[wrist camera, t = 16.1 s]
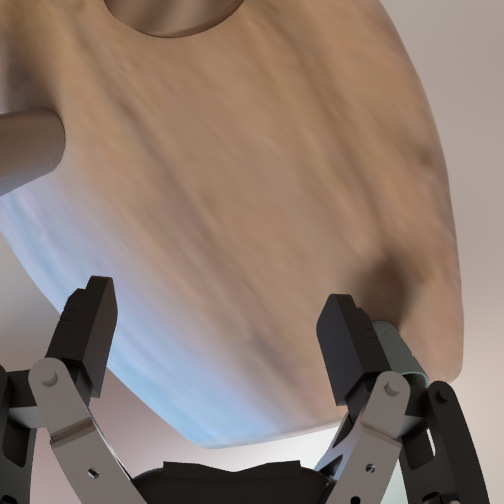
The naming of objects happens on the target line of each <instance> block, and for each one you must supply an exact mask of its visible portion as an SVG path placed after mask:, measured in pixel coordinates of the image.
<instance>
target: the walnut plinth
mask: <svg viewBox="0 0 504 504" xmlns="http://www.w3.org/2000/svg"><path fill="white" fill-rule="evenodd" d="M243 1H244V0H104V2H105V5H106V6H107V8H108V10H109V11H110V12H111V14H112V15H113V16H114V17H115V18H117V19H118V20H119V21H121V22H122V23H124V24H126V25H128V26H130V27H131V28H133V29H135V30H137V31H139V32H141V33H144V34H146V35H149V36H153V37H160V38H180V37H186V36H191V35H194V34H198V33H201V32H203V31H206V30H208V29H210V28H212V27H214V26H216V25H218V24H219V23H221V22H223V21H224V20H225V19H227V18H228V17H229V16H231V15H232V14H233V13H234V12H235V11H236V10H237V9H238V8H239V6H240V5H241V4H242V3H243Z"/></svg>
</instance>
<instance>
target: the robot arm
mask: <svg viewBox="0 0 504 504" xmlns="http://www.w3.org/2000/svg"><path fill="white" fill-rule="evenodd" d="M64 147H65V134H64V129H63V126H62V123H61V121H60V119H59V118H58V116H57V115H56V114H55V113H54V112H53V111H51V110H49V109H46V108H37V109H29V110H22V111H16V112H10V113H5V114H0V197H1V196H3V195H5V194H6V193H8V192H10V191H12V190H14V189H16V188H18V187H20V186H22V185H24V184H26V183H28V182H31V181H33V180H35V179H37V178H39V177H41V176H43V175H45V174H47V173H49V172H51V171H52V170H54V169H55V168H56V167H57V165H58V164H59V162H60V160H61V158H62V156H63V152H64ZM117 315H118V309H117V302H116V297H115V291H114V284H113V279H112V278H111V277H102V276H91V277H90V279H89V282H88V284H87V286H86V289H80V288H78V289H77V290H76V291H75V292H74V293H73V294H72V295H71V296H70V297H69V298H68V300H67V302H66V305H65V307H64V311H63V312H62V314H61V317H60V321H59V322H58V324H57V327H56V329H55V332H54V335H53V337H52V340H51V343H50V345H49V348H48V351H47V354H46V356H45V358H43V359H41V360H39V361H37V362H36V363H35V364H34V365H33V366H32V367H31V369H29V370H24V371H13V372H6V371H5V369H4V368H3V367H2V366H1V365H0V504H29V502H30V484H31V472H32V471H31V470H32V462H33V454H34V446H35V439H36V432H37V428H40V427H47V430H48V432H49V434H50V437H51V440H50V445H51V447H52V450H53V452H54V454H55V456H56V458H57V460H58V462H59V464H60V466H61V468H62V470H63V472H64V474H65V475H66V477H67V479H68V481H69V483H70V484H71V486H72V487H73V489H74V491H75V493H76V494H77V496H78V498H79V499H80V501H81V503H82V504H380V503H381V501H382V498H383V496H384V494H385V491H386V489H387V486H388V484H389V481H390V479H391V476H392V473H393V471H394V468H395V465H396V462H397V460H398V458H399V462H400V467H401V471H402V475H403V480H404V484H405V489H406V494H407V499H408V504H490V502H489V498H488V494H487V490H486V485H485V482H484V478H483V474H482V471H481V467H480V464H479V460H478V457H477V454H476V450H475V447H474V444H473V441H472V438H471V435H470V432H469V429H468V427H467V424H466V421H465V418H464V415H463V412H462V410H461V407H460V405H459V402H458V399H457V397H456V394H455V392H454V390H453V389H452V387H451V386H450V385H449V384H447V383H446V382H443V381H434V382H433V383H431V384H430V385H429V386H428V387H427V388H424V387H418V386H413V385H409V384H408V382H407V380H406V379H405V378H404V377H403V376H402V375H400V374H399V373H396V372H393V371H392V369H391V367H390V364H389V362H388V359H387V357H386V355H385V352H384V350H383V347H382V345H381V343H380V340H379V339H378V336H377V333H376V331H374V327H373V324H372V322H371V320H370V318H369V316H368V315H367V314H366V313H365V312H364V311H363V310H362V309H361V308H357V307H356V305H355V303H354V301H353V298H352V296H351V295H349V294H330V295H329V297H328V299H327V301H326V304H325V306H324V308H323V310H322V312H321V315H320V317H319V319H318V322H317V328H316V331H317V337H318V341H319V344H320V348H321V351H322V355H323V358H324V362H325V365H326V369H327V373H328V376H329V380H330V384H331V387H332V391H333V395H334V399H335V402H336V406H342V405H347V407H348V411H347V413H346V414H345V416H344V418H343V420H342V423H341V425H340V427H339V429H338V431H337V433H336V435H335V437H334V439H333V440H332V442H331V444H330V446H329V448H328V450H327V452H326V453H325V454H324V456H323V457H322V458H321V459H320V461H319V462H318V463H317V465H316V466H315V468H314V470H312V469H309V468H305V467H301V465H300V460H296V461H286V462H273V463H266V464H263V465H259V466H256V467H252V468H249V469H245V470H241V471H237V472H230V471H225V470H221V469H217V468H212V467H209V466H205V465H201V464H195V463H177V462H165V461H164V462H163V464H164V465H163V468H156V469H153V470H149V471H146V472H144V473H142V474H140V475H138V476H136V477H135V478H132V476H131V475H130V473H129V472H128V471H127V469H126V468H125V466H124V465H123V464H122V462H121V461H120V459H119V458H118V456H117V455H116V453H115V452H114V450H113V449H112V447H111V445H110V444H109V442H108V441H107V439H106V437H105V436H104V434H103V432H102V431H101V429H100V427H99V426H98V424H97V422H96V420H95V418H94V417H93V415H92V413H91V411H90V409H89V408H88V407H89V402H90V397H95V398H100V394H101V388H102V383H103V379H104V374H105V369H106V365H107V360H108V356H109V351H110V347H111V343H112V339H113V335H114V331H115V327H116V323H117ZM427 429H429V430H430V433H431V436H432V439H433V443H434V446H435V456H434V455H433V451H432V448H431V444H430V440H429V437H428V434H427Z"/></svg>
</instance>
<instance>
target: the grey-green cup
mask: <svg viewBox="0 0 504 504" xmlns="http://www.w3.org/2000/svg"><path fill="white" fill-rule="evenodd" d="M372 324H373V327H374V331H376V333H377V336H378V339H379V340H380V343H381V345H382V347H383V350H384V352H385V355H386V357H387V359H388V362H389V364H390V367H391V369H392V371H393V372H396V373H399V374H400V375H402V376H403V377H404V378H405V379H406V380H407V382H408V384H409V385H413V386H418V387H424V388H427V387H428V386H429V378H428V376H427V375H426V373H425V372H424V370H423V369H422V367H421V366H420V364H419V363H418V361H417V360H416V358H415V357H414V356H412V352H411V351H410V349H409V348H408V346H407V345H406V343H405V342H404V341H403V339H402V338H401V335H400V334H399V332H398V331H397V329H396V328H395V327H394V326H393V325H392V324H391V323H389V322H386V321H374V322H372Z"/></svg>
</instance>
